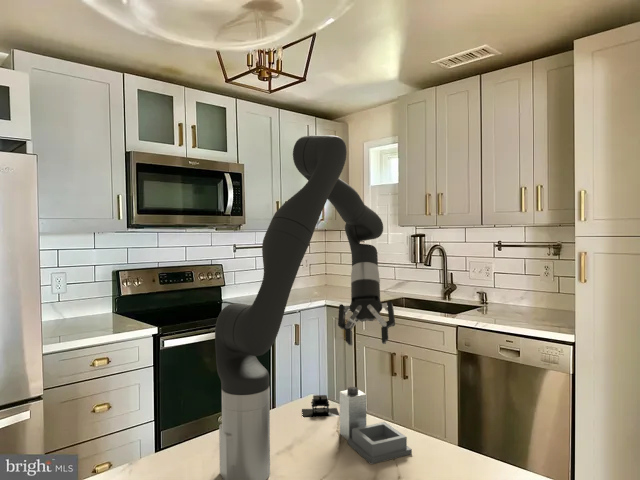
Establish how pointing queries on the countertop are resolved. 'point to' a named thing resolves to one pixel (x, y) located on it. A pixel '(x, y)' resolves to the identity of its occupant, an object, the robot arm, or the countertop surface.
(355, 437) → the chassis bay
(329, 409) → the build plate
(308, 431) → the countertop surface
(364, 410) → the knobbed grey block
